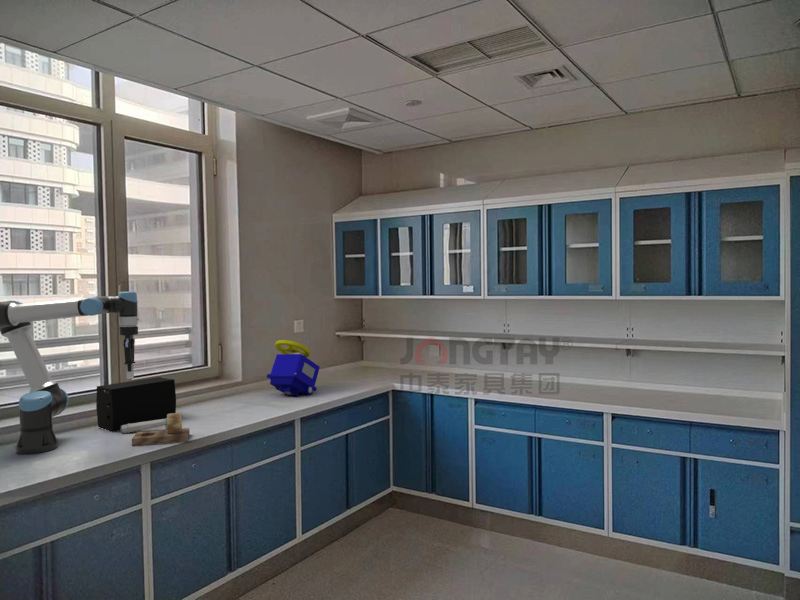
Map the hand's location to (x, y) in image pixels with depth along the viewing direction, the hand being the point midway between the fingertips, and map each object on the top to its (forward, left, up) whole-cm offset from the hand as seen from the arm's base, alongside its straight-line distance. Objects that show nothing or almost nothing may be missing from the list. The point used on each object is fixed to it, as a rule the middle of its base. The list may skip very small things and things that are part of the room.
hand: (130, 378), depth 265 cm
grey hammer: (+6, +8, -27) cm, 29 cm away
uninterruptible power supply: (-3, +26, -27) cm, 38 cm away
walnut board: (+14, -11, -26) cm, 32 cm away
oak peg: (+19, -11, -26) cm, 34 cm away
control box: (+77, +79, -27) cm, 113 cm away
